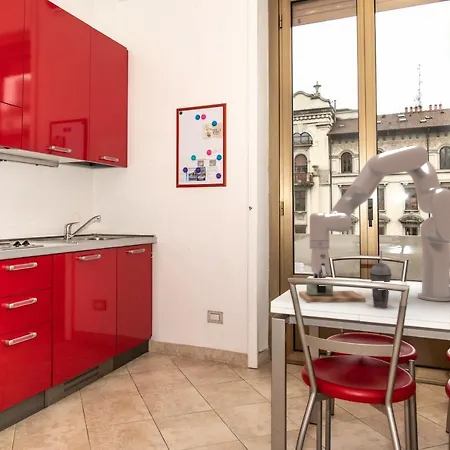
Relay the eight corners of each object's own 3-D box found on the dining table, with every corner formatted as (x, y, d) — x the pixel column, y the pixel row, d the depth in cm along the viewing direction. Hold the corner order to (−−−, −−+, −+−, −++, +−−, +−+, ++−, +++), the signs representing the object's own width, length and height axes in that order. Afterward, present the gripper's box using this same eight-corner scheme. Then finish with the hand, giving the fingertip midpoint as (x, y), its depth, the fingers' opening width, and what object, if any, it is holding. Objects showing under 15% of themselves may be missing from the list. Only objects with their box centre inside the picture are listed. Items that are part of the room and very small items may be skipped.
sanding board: (352, 294, 171) (352, 290, 171) (365, 301, 157) (365, 297, 157) (299, 295, 170) (299, 291, 170) (307, 302, 156) (307, 298, 156)
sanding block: (329, 293, 166) (329, 277, 166) (332, 295, 161) (332, 280, 161) (306, 293, 166) (306, 278, 166) (309, 295, 161) (309, 280, 161)
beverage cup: (389, 304, 152) (390, 249, 151) (393, 309, 145) (393, 251, 144) (368, 303, 154) (368, 249, 153) (370, 308, 147) (371, 251, 146)
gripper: (335, 246, 155) (335, 295, 155) (322, 243, 172) (322, 287, 172) (315, 246, 154) (315, 296, 155) (304, 243, 171) (304, 287, 172)
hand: (319, 291), depth 164 cm, fingers closed on sanding block, 5 cm apart
